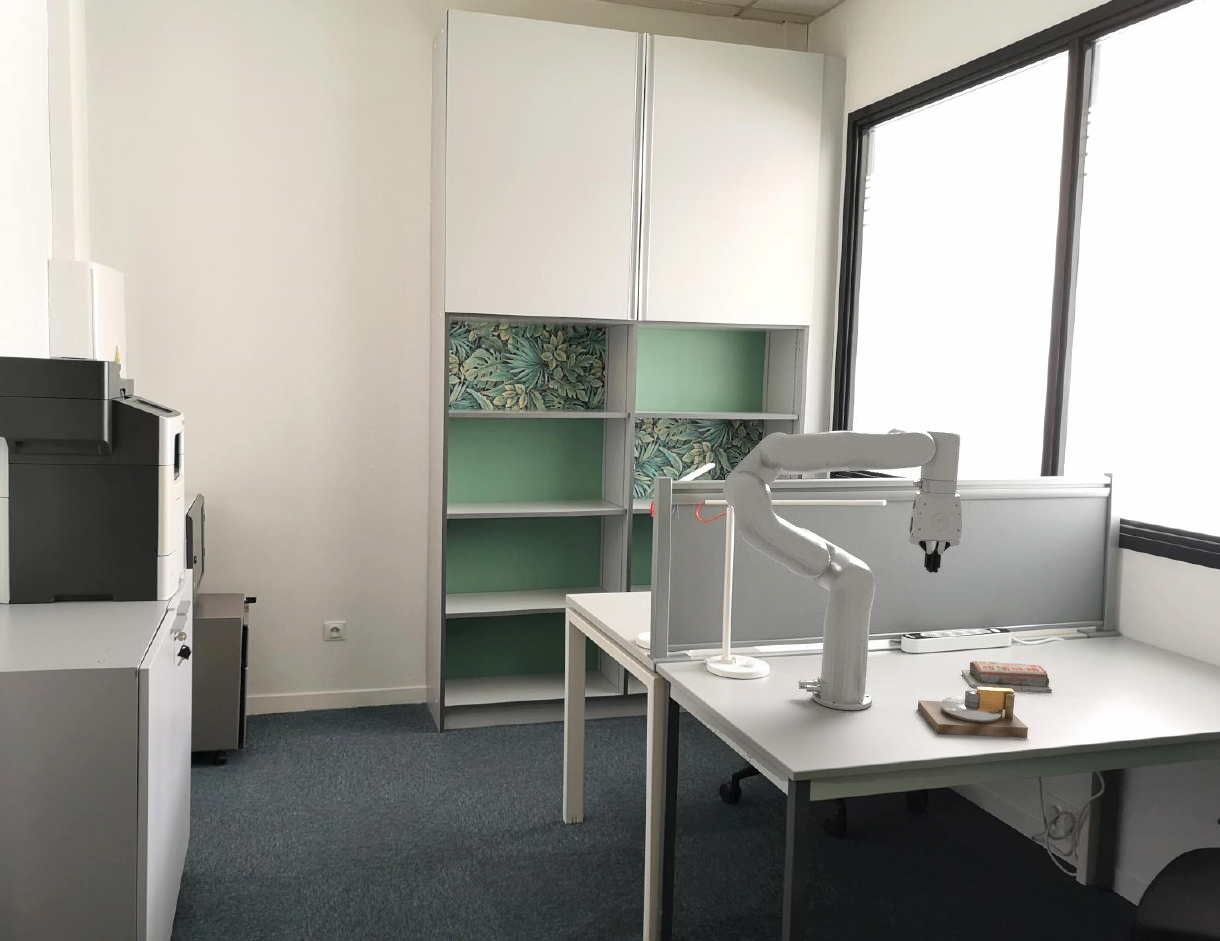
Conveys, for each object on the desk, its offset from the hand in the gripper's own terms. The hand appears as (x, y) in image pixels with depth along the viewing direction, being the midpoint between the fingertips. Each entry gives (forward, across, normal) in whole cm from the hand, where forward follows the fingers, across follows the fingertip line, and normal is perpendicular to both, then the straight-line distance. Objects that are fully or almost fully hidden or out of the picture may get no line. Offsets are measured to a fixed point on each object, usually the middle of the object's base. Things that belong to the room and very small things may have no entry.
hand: (931, 571), depth 224 cm
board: (+29, +6, -12) cm, 32 cm away
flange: (+27, +8, -13) cm, 31 cm away
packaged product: (+30, +24, +15) cm, 41 cm away
